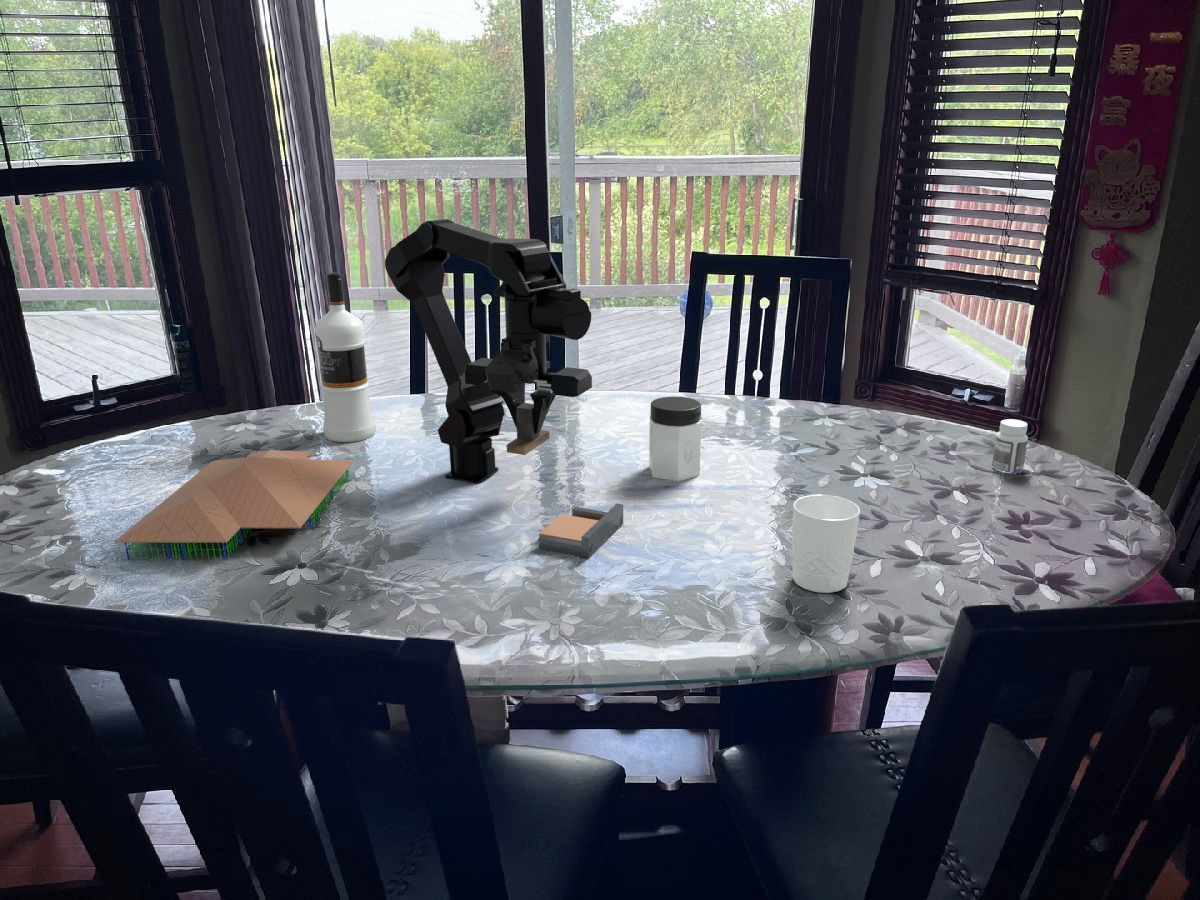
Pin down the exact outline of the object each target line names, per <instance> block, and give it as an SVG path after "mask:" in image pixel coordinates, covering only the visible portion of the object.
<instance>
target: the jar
mask: <svg viewBox="0 0 1200 900" xmlns="http://www.w3.org/2000/svg"><path fill="white" fill-rule="evenodd" d="M701 415H702V404H701V402H700V401H698V400H697V399H694V398H690V397H684V396H663V397H658V398H656V399H653V400H652V401H651V402H650V415H649V445H648V447H649V450H648V454H649V455H648V456H649V457H648V468H649V471H650V474H651V477H652V478H656V479H662V480H668V481H672V482H681V481H684V480H685V481H686V480H688V479H693V478H696V477H699V476H700V473H701V471H700V470H701V448H702V446H701V445H702V444H701V443H702V442H701V441H702V421H701V417H702V416H701Z"/></svg>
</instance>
